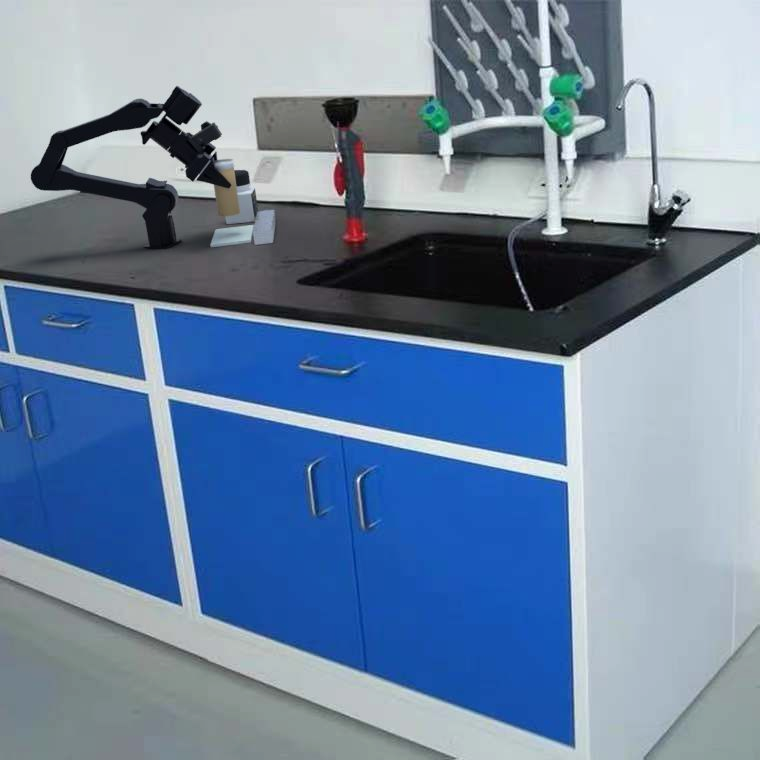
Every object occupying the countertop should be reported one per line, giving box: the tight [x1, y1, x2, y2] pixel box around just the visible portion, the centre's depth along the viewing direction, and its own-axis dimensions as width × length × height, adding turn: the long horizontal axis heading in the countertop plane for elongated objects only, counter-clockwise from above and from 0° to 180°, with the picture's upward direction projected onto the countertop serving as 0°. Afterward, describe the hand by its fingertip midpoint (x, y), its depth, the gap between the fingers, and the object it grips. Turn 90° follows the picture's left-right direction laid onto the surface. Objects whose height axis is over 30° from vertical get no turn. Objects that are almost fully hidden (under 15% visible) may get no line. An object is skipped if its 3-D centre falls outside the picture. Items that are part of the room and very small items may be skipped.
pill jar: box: [213, 158, 240, 217], centre depth 285 cm, size 5×5×12 cm
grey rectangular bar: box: [252, 208, 277, 246], centre depth 290 cm, size 25×4×3 cm, turn 3°
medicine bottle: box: [224, 169, 259, 225], centre depth 304 cm, size 7×7×12 cm
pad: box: [209, 224, 254, 248], centre depth 289 cm, size 9×16×1 cm, turn 3°
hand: (231, 184), depth 285 cm, fingers closed on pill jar, 5 cm apart
